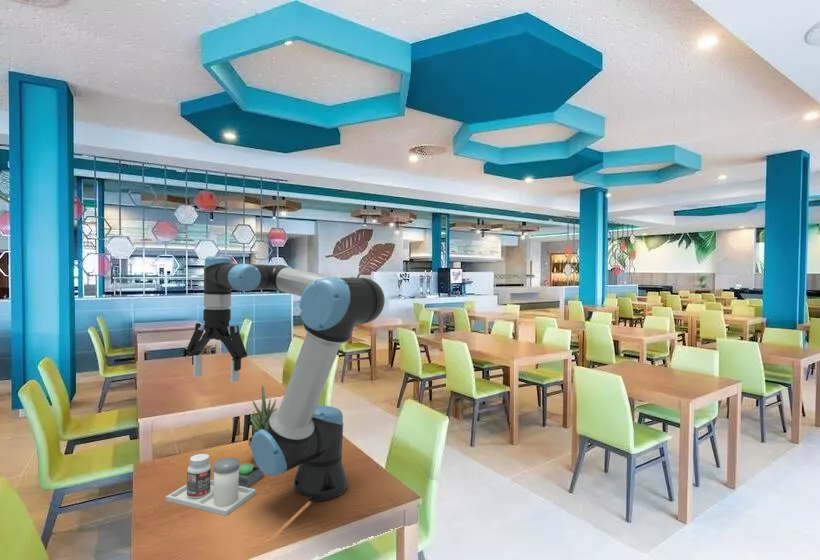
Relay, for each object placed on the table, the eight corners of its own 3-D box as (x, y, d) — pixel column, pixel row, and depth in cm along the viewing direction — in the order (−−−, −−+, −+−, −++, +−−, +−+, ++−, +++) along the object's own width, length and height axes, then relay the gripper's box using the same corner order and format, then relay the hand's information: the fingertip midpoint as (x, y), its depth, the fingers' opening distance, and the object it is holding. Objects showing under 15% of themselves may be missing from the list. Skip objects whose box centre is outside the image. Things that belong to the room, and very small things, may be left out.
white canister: (243, 496, 117) (244, 459, 117) (227, 508, 111) (228, 469, 111) (224, 492, 119) (225, 456, 119) (207, 503, 113) (208, 465, 113)
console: (263, 480, 129) (263, 467, 128) (247, 492, 122) (247, 478, 122) (243, 476, 131) (243, 463, 131) (226, 487, 124) (227, 473, 124)
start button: (255, 471, 128) (256, 464, 127) (246, 477, 124) (246, 470, 124) (244, 469, 129) (244, 462, 129) (235, 475, 125) (235, 468, 125)
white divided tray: (258, 497, 120) (259, 488, 120) (225, 522, 107) (225, 513, 107) (199, 483, 126) (200, 475, 126) (161, 506, 113) (161, 497, 113)
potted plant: (254, 453, 147) (256, 380, 147) (282, 454, 147) (284, 381, 146) (242, 466, 137) (244, 388, 137) (272, 467, 137) (274, 389, 136)
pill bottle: (200, 500, 114) (201, 463, 114) (181, 497, 116) (182, 460, 115) (214, 490, 120) (215, 454, 120) (196, 487, 121) (197, 451, 121)
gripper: (260, 309, 131) (258, 380, 131) (193, 304, 138) (192, 371, 139) (243, 311, 123) (242, 386, 124) (174, 306, 131) (172, 377, 132)
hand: (215, 378), depth 131 cm, fingers open, 13 cm apart
